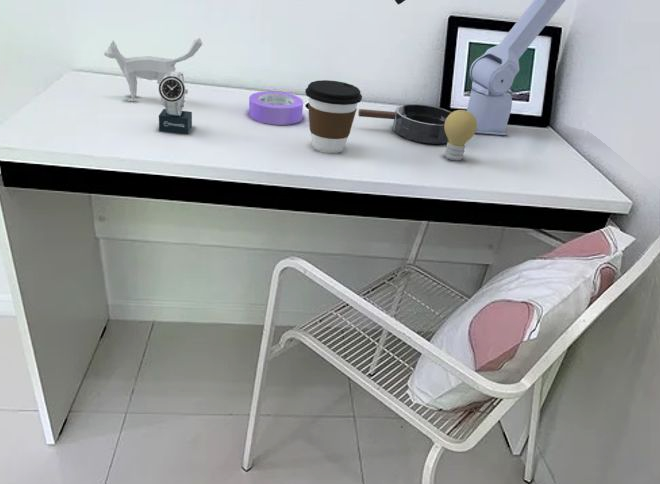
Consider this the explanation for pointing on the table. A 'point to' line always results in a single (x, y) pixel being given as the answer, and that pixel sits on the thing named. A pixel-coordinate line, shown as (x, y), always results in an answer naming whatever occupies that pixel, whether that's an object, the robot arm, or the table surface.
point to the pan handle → (376, 114)
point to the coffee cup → (331, 113)
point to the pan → (421, 123)
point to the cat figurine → (147, 65)
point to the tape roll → (275, 108)
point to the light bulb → (459, 132)
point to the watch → (174, 104)
